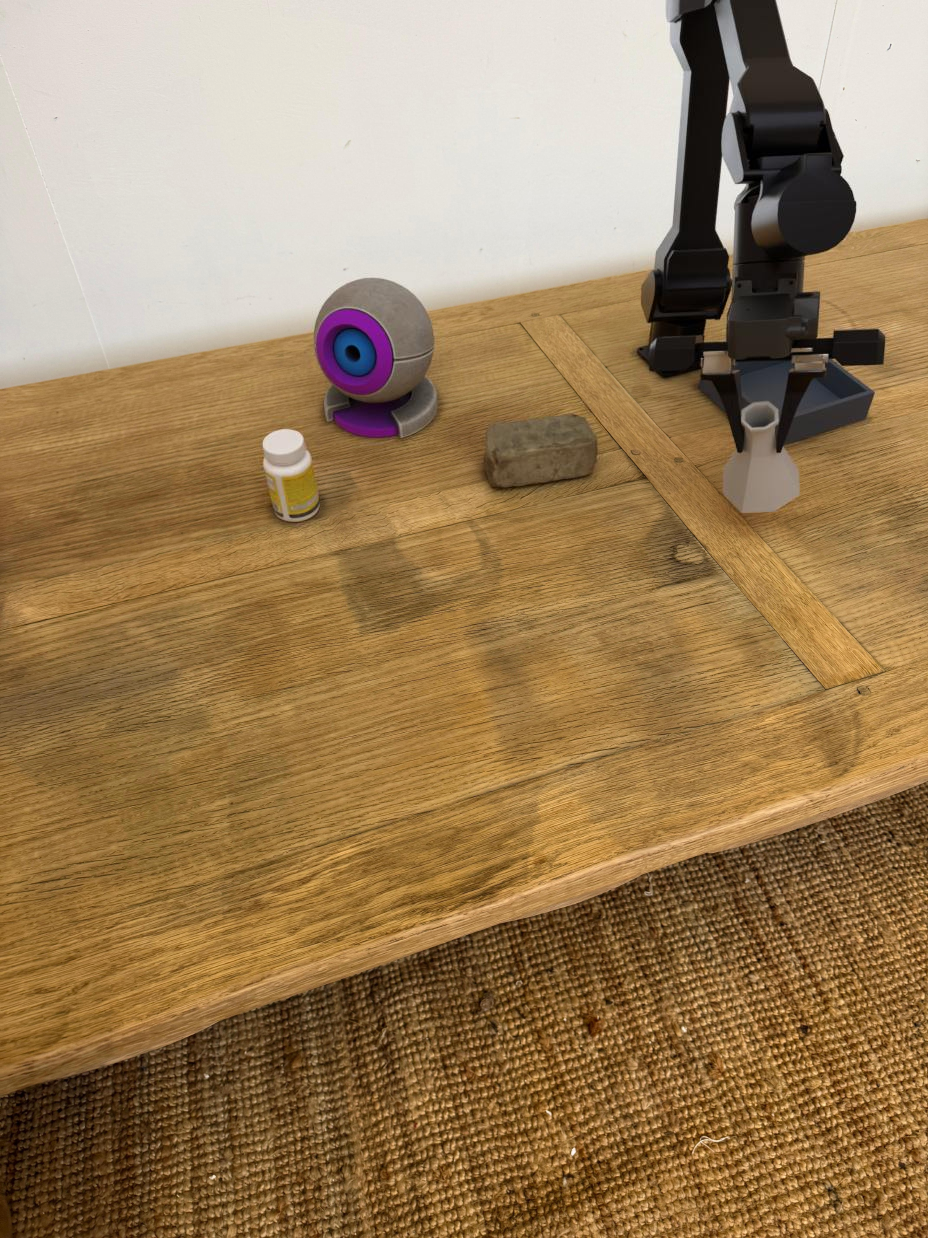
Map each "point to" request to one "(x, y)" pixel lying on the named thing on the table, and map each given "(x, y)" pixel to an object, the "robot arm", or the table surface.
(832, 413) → the dark grey square tray
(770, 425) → the flask
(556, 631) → the table surface
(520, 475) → the stone block
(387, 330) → the webcam
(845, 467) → the table surface
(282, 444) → the supplement bottle
